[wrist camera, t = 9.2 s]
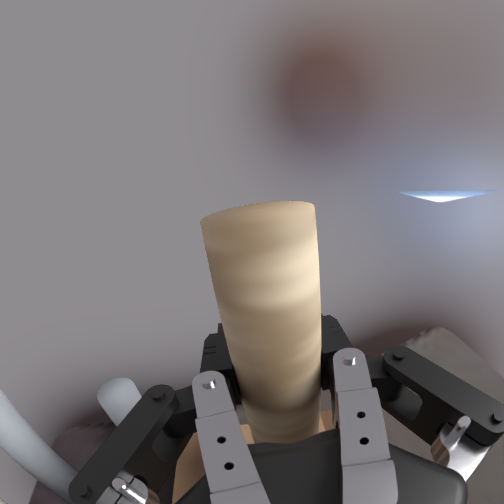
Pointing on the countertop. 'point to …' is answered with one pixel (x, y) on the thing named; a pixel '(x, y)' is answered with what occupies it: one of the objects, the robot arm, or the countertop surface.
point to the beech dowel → (270, 312)
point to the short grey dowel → (118, 398)
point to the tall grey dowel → (33, 451)
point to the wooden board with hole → (193, 465)
